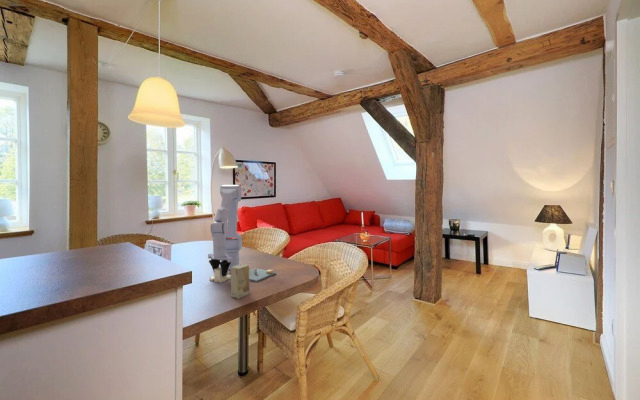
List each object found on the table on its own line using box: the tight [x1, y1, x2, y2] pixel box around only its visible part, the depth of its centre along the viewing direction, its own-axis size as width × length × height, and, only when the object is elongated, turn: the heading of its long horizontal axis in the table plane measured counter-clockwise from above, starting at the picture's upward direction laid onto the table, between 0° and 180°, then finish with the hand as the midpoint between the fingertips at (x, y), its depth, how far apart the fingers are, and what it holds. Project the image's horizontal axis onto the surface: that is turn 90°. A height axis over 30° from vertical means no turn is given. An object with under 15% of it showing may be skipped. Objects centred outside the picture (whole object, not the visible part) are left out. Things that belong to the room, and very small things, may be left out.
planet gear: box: [209, 266, 231, 283], centre depth 144 cm, size 9×9×5 cm
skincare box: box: [230, 263, 250, 299], centre depth 123 cm, size 6×4×12 cm
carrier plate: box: [249, 267, 277, 283], centre depth 149 cm, size 14×14×4 cm
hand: (220, 274), depth 144 cm, fingers open, 5 cm apart
